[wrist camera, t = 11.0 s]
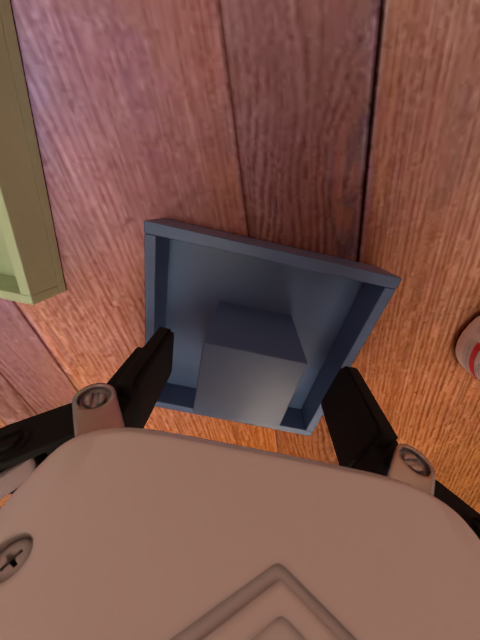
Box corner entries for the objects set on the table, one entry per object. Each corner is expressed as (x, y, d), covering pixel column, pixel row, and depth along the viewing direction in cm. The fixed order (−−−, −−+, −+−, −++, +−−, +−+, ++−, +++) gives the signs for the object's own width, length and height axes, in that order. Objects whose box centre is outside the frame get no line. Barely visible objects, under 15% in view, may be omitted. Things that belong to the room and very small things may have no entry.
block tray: (163, 217, 13) (143, 220, 10) (376, 266, 13) (402, 278, 11) (158, 380, 19) (145, 404, 17) (304, 409, 19) (310, 436, 17)
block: (219, 300, 14) (203, 342, 10) (292, 315, 14) (308, 363, 10) (209, 358, 17) (192, 413, 12) (272, 371, 17) (278, 430, 12)
